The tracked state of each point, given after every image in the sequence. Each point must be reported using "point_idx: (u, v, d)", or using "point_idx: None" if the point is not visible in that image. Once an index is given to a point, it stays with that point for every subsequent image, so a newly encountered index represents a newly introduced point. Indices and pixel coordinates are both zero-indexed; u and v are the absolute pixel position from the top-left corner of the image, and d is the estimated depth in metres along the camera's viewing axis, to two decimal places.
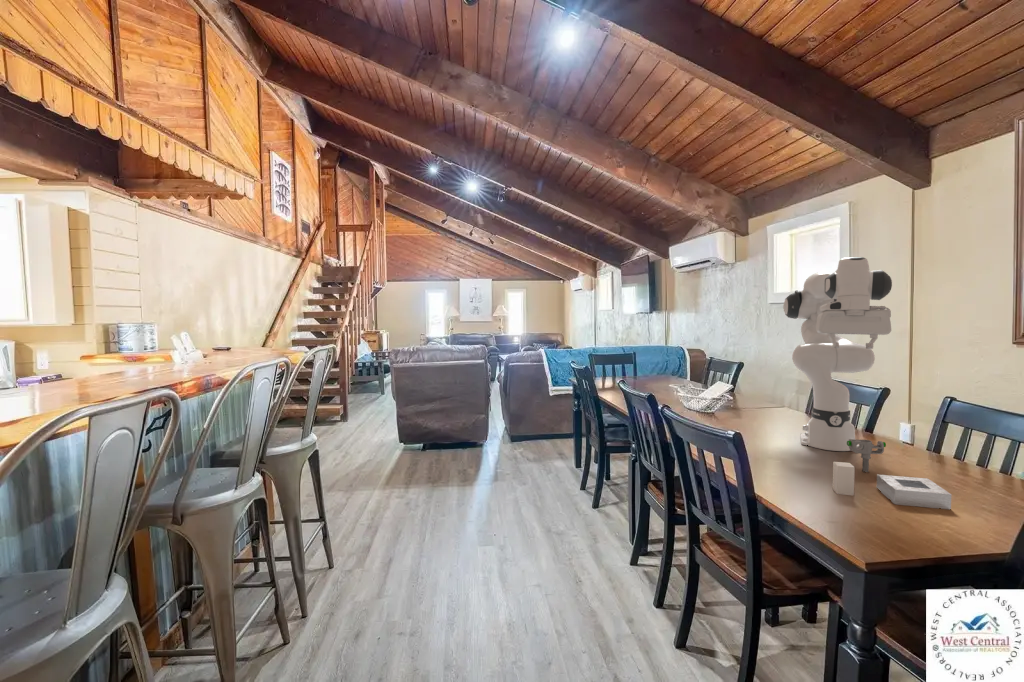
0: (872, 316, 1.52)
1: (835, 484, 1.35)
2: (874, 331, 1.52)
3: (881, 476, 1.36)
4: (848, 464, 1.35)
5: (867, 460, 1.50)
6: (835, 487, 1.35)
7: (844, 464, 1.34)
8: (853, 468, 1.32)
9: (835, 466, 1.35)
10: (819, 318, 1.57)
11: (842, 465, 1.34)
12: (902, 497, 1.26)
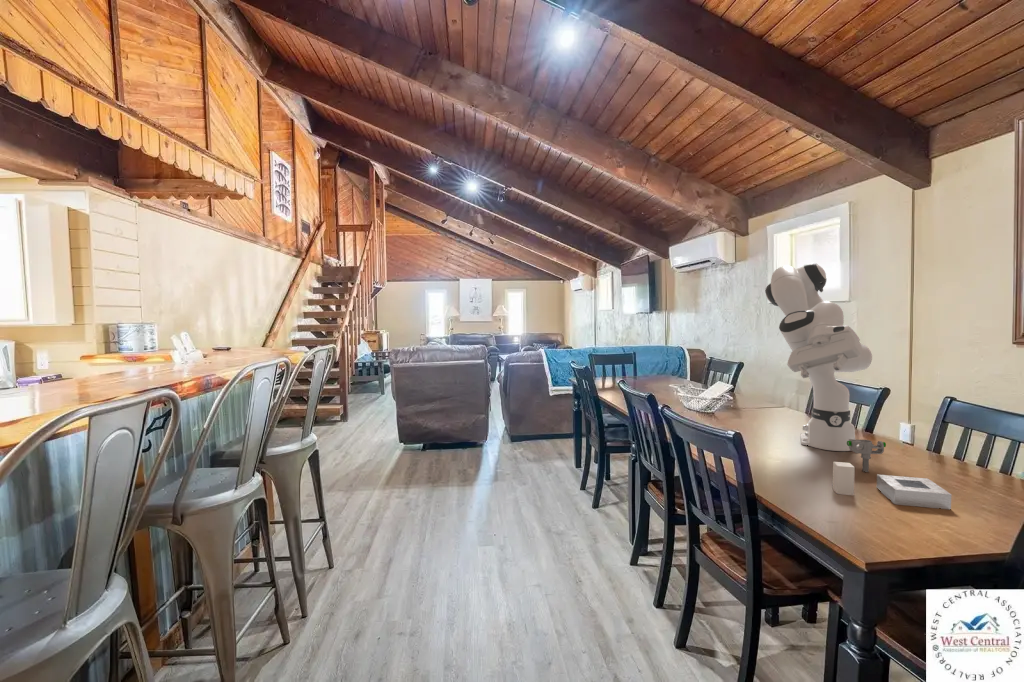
0: None
1: (835, 484, 1.35)
2: None
3: (881, 476, 1.36)
4: (848, 464, 1.35)
5: (867, 460, 1.50)
6: (835, 487, 1.35)
7: (844, 464, 1.34)
8: (853, 468, 1.32)
9: (835, 466, 1.35)
10: (859, 342, 1.41)
11: (842, 465, 1.34)
12: (902, 497, 1.26)
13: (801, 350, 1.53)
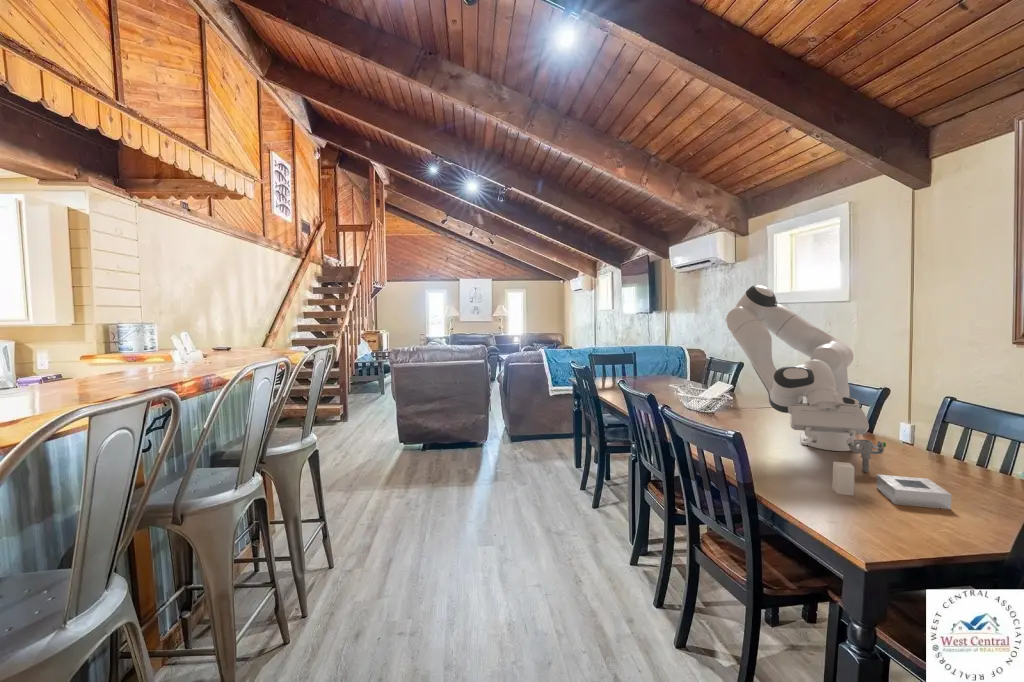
0: None
1: (835, 484, 1.35)
2: None
3: (881, 476, 1.36)
4: (848, 464, 1.35)
5: (867, 460, 1.50)
6: (835, 487, 1.35)
7: (844, 464, 1.34)
8: (853, 468, 1.32)
9: (835, 466, 1.35)
10: None
11: (842, 465, 1.34)
12: (902, 497, 1.26)
13: (806, 410, 1.50)
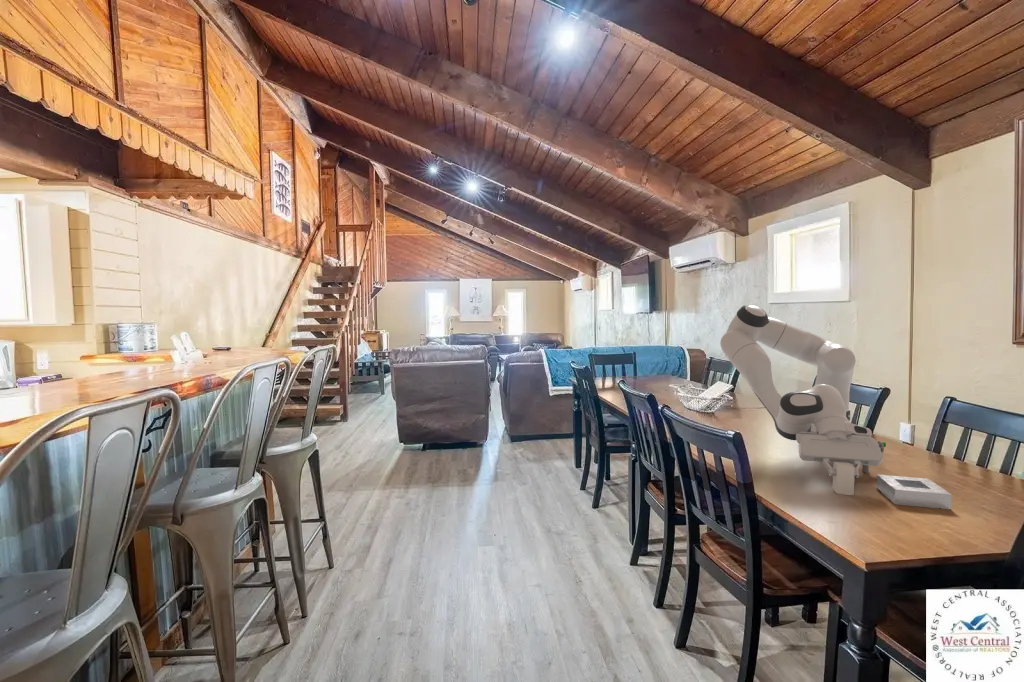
0: None
1: (835, 484, 1.35)
2: None
3: (881, 476, 1.36)
4: (848, 464, 1.35)
5: None
6: (835, 487, 1.35)
7: (844, 464, 1.34)
8: (853, 468, 1.32)
9: (835, 466, 1.35)
10: None
11: (842, 465, 1.34)
12: (902, 497, 1.26)
13: (815, 439, 1.41)
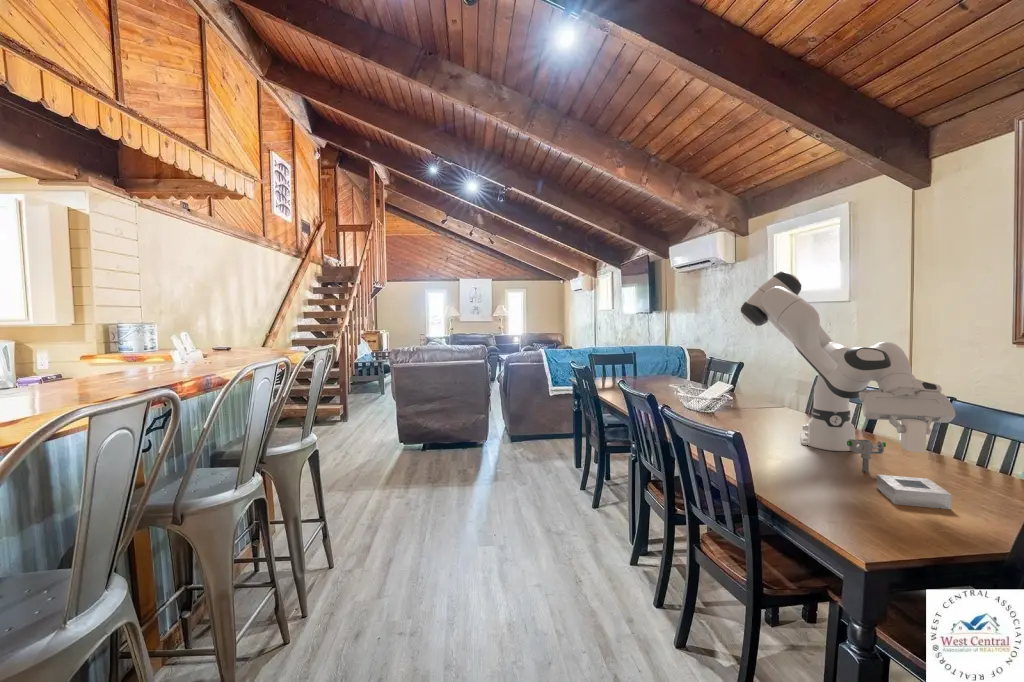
0: None
1: (904, 442, 1.29)
2: None
3: (881, 476, 1.36)
4: (918, 420, 1.29)
5: (867, 460, 1.50)
6: (904, 445, 1.29)
7: (915, 421, 1.28)
8: (925, 424, 1.26)
9: (904, 423, 1.29)
10: None
11: (913, 421, 1.28)
12: (902, 497, 1.26)
13: (881, 397, 1.35)
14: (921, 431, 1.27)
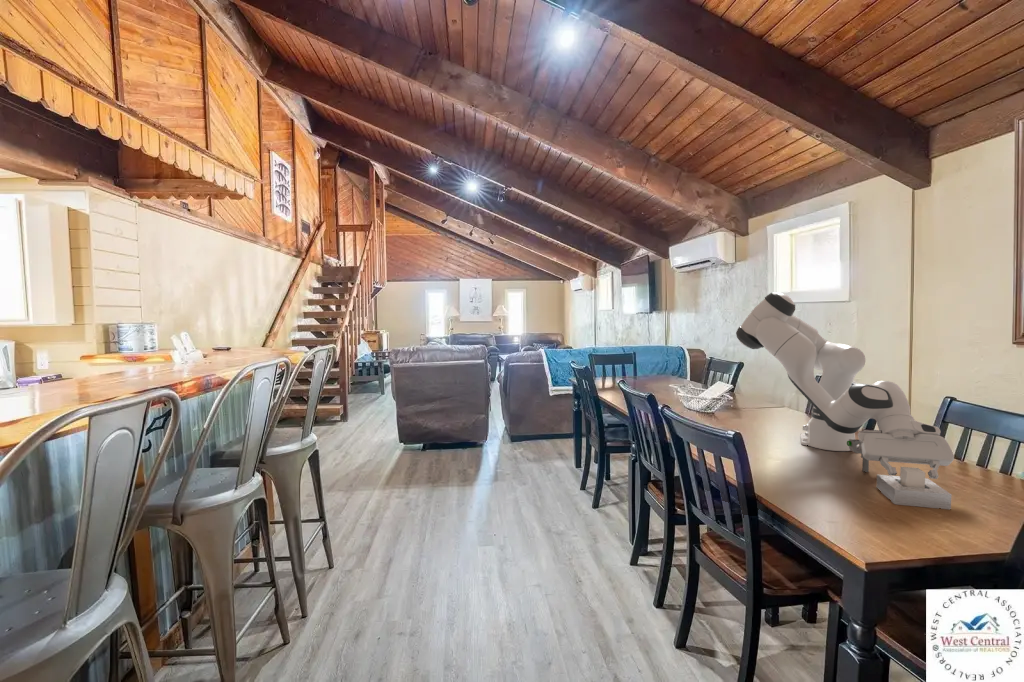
0: None
1: None
2: None
3: (881, 476, 1.36)
4: (917, 469, 1.29)
5: (867, 460, 1.50)
6: None
7: (913, 470, 1.29)
8: (924, 473, 1.27)
9: (903, 471, 1.30)
10: None
11: (911, 470, 1.29)
12: (902, 497, 1.26)
13: (880, 438, 1.36)
14: (920, 481, 1.28)
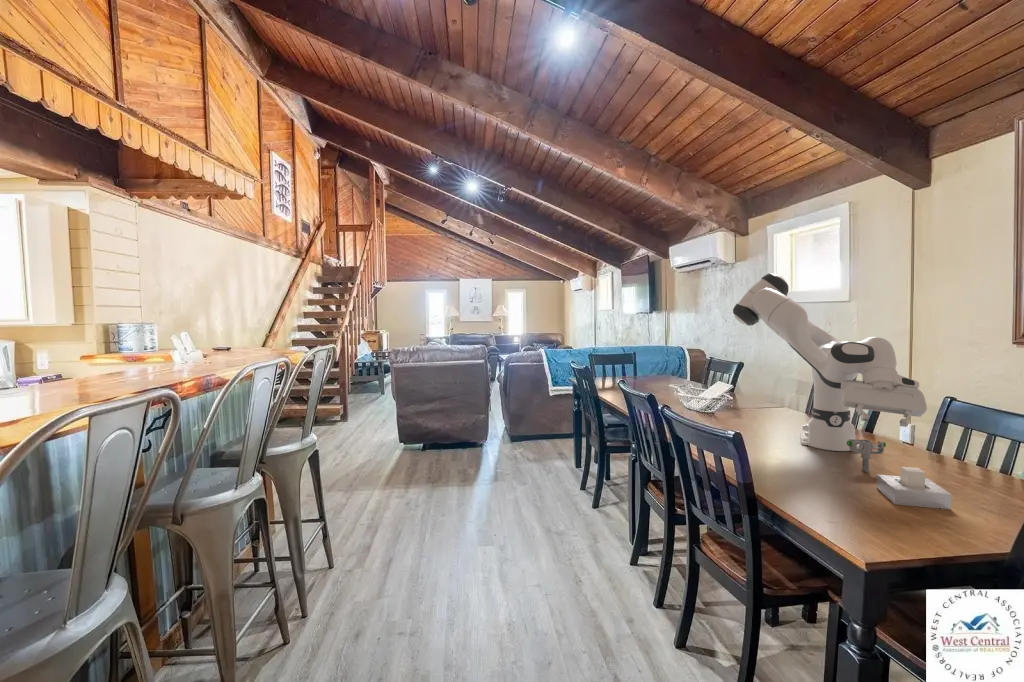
0: None
1: None
2: None
3: (881, 476, 1.36)
4: (917, 469, 1.29)
5: (867, 460, 1.50)
6: None
7: (913, 470, 1.29)
8: (924, 473, 1.27)
9: (903, 471, 1.30)
10: None
11: (911, 470, 1.29)
12: (902, 497, 1.26)
13: (860, 387, 1.46)
14: (920, 481, 1.28)
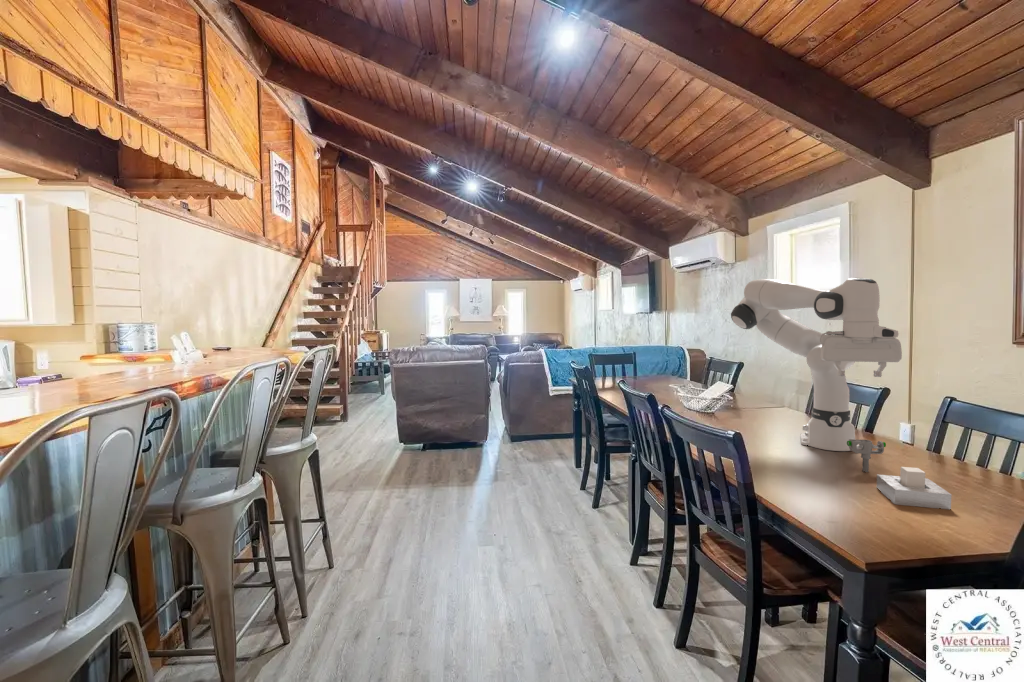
0: None
1: None
2: None
3: (881, 476, 1.36)
4: (917, 469, 1.29)
5: (867, 460, 1.50)
6: None
7: (913, 470, 1.29)
8: (924, 473, 1.27)
9: (903, 471, 1.30)
10: None
11: (911, 470, 1.29)
12: (902, 497, 1.26)
13: (839, 343, 1.45)
14: (920, 481, 1.28)
